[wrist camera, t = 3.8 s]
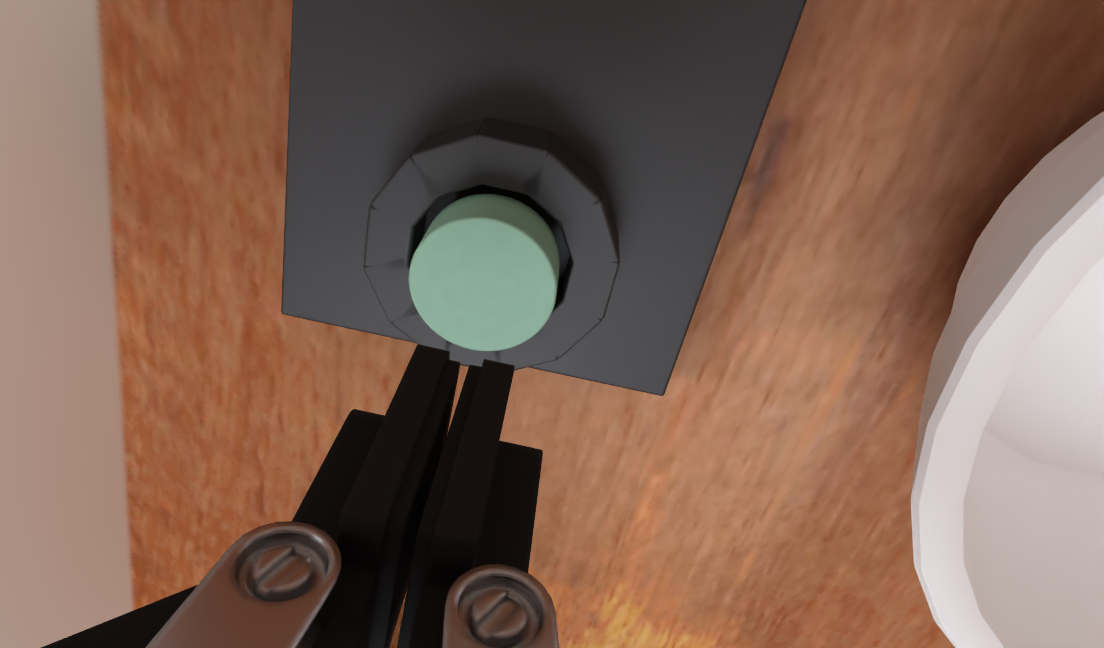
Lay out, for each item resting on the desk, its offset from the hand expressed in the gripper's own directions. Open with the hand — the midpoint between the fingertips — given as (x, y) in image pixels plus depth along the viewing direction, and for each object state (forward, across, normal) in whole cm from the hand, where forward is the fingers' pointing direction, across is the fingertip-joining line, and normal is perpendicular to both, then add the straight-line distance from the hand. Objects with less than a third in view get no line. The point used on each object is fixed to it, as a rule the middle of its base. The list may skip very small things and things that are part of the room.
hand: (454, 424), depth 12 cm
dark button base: (+10, 0, -5) cm, 12 cm away
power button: (+7, 0, 0) cm, 7 cm away
